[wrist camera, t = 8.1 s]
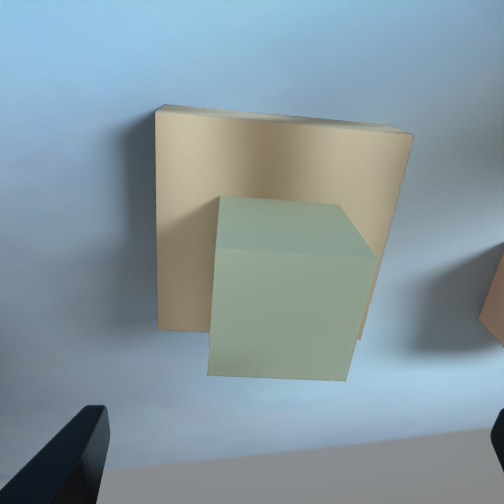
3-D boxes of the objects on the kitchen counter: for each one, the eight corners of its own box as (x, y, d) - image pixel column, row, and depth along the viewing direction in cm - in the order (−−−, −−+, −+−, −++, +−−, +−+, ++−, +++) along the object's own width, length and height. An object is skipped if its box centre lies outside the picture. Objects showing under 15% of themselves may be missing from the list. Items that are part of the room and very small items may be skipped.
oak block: (387, 123, 18) (414, 135, 16) (345, 306, 23) (360, 339, 20) (166, 103, 18) (155, 111, 15) (166, 296, 22) (157, 329, 19)
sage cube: (339, 204, 17) (378, 259, 12) (319, 304, 19) (345, 381, 15) (220, 195, 16) (215, 247, 12) (213, 298, 19) (207, 375, 14)
